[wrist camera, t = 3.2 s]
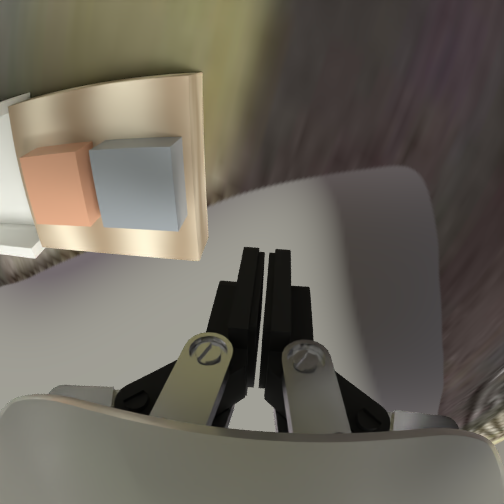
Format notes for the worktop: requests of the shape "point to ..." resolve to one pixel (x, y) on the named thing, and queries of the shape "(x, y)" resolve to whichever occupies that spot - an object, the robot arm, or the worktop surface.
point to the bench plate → (123, 127)
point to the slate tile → (140, 183)
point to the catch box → (14, 195)
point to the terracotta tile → (61, 184)
